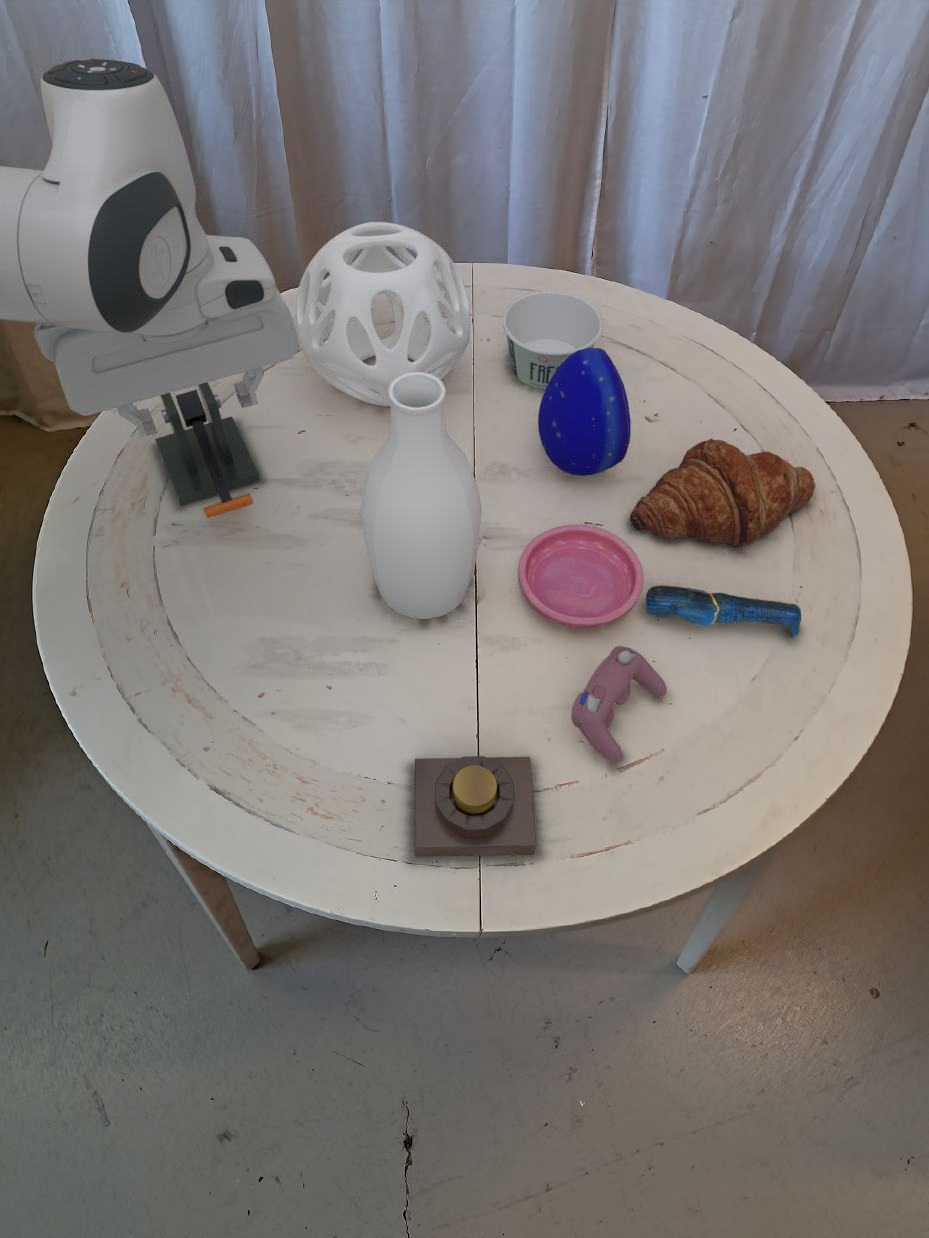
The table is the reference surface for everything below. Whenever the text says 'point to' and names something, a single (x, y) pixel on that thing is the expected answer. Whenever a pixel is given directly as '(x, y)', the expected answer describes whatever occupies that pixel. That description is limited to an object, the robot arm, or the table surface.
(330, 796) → the table surface
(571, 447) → the ornament
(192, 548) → the table surface
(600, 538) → the saucer
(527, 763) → the button block
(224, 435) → the switch bracket
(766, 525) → the pastry
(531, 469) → the table surface
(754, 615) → the figurine
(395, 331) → the decorative ball
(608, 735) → the video game controller
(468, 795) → the button
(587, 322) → the food container
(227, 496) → the switch lever
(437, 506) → the bottle
